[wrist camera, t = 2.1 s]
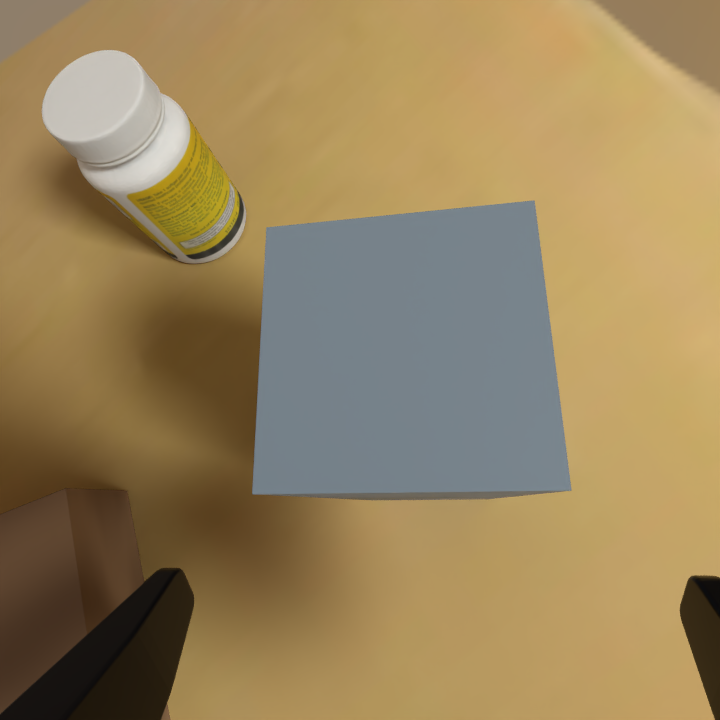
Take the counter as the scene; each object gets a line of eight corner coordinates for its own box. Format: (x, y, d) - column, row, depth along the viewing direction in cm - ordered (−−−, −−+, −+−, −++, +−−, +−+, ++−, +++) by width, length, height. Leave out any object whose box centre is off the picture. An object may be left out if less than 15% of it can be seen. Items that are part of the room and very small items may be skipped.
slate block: (489, 499, 19) (572, 490, 7) (372, 500, 20) (252, 494, 7) (479, 384, 20) (534, 200, 8) (370, 389, 21) (266, 227, 9)
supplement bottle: (259, 189, 25) (173, 42, 17) (233, 272, 24) (127, 156, 16) (177, 180, 26) (59, 38, 18) (148, 259, 25) (9, 144, 17)
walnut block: (179, 744, 19) (112, 805, 15) (-6, 811, 19) (-117, 887, 15) (131, 490, 22) (65, 488, 18) (-26, 553, 22) (-123, 563, 18)
